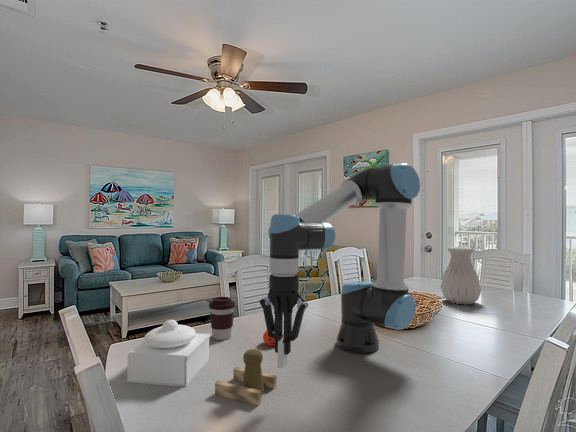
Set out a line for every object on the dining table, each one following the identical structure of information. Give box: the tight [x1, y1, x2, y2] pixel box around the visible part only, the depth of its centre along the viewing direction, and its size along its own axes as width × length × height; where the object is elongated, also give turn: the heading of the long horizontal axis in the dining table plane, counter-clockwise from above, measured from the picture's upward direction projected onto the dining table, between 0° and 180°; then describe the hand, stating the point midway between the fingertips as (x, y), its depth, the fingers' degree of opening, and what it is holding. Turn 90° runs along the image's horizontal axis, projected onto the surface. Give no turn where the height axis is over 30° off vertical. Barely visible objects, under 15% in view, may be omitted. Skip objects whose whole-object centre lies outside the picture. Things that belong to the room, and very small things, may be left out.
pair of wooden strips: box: [214, 366, 277, 406], centre depth 92 cm, size 13×10×3 cm
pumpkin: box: [262, 330, 284, 347], centre depth 125 cm, size 7×8×6 cm
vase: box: [440, 246, 482, 306], centre depth 186 cm, size 20×20×30 cm
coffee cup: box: [208, 296, 236, 341], centre depth 132 cm, size 10×10×15 cm
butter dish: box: [127, 319, 211, 387], centre depth 103 cm, size 18×18×16 cm
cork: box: [242, 348, 265, 396], centre depth 91 cm, size 6×6×11 cm
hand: (282, 365), depth 87 cm, fingers closed
